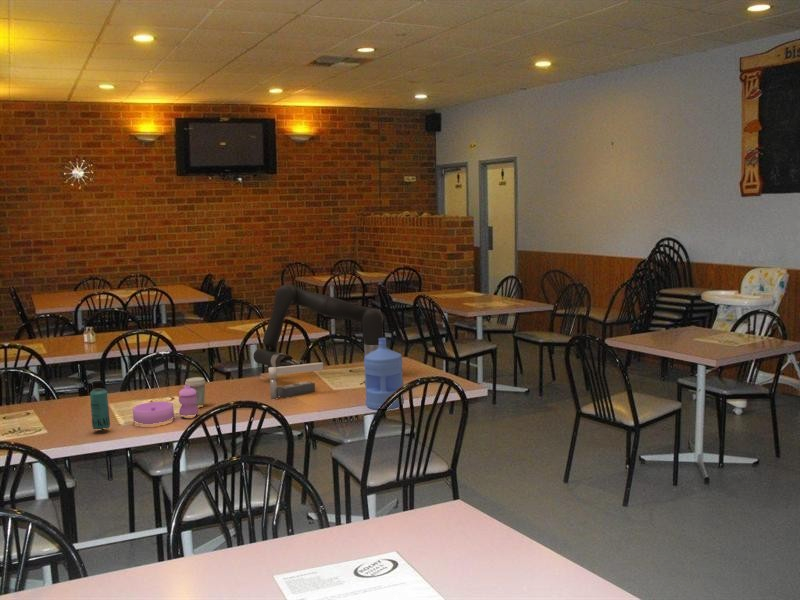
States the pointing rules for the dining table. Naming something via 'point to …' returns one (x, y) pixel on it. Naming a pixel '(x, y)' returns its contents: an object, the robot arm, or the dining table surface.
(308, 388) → the block
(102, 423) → the beverage bottle
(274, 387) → the post
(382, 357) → the water jug
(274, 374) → the bar
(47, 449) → the dining table surface
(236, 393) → the dining table surface
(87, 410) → the dining table surface
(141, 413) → the container set
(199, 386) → the coffee cup
